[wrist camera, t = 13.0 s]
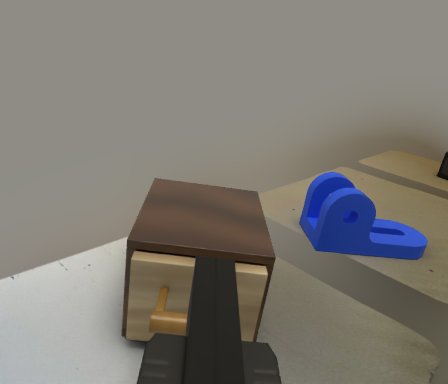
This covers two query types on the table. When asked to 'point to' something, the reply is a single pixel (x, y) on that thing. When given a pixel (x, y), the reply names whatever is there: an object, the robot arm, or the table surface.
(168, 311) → the drawer
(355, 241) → the bracket
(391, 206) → the table surface
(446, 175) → the digital camera
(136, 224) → the cabinet
